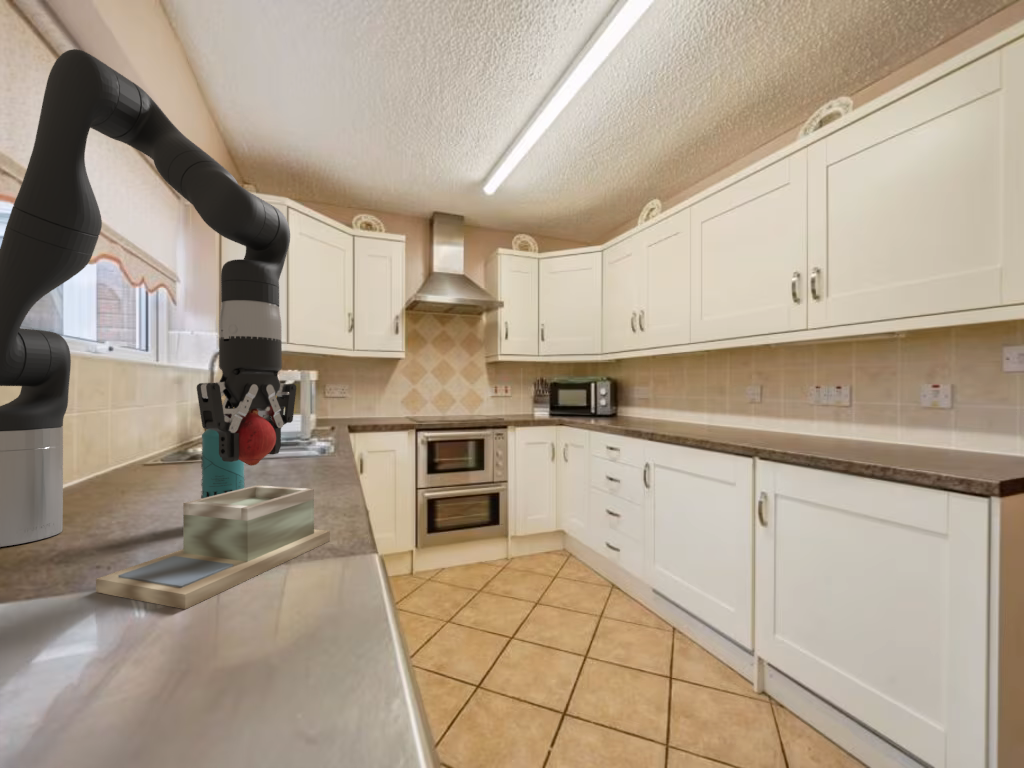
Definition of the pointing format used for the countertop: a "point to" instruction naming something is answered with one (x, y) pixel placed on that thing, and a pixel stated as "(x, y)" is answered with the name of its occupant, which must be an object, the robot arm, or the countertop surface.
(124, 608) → the countertop surface
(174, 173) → the robot arm
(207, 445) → the beverage bottle
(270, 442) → the onion
